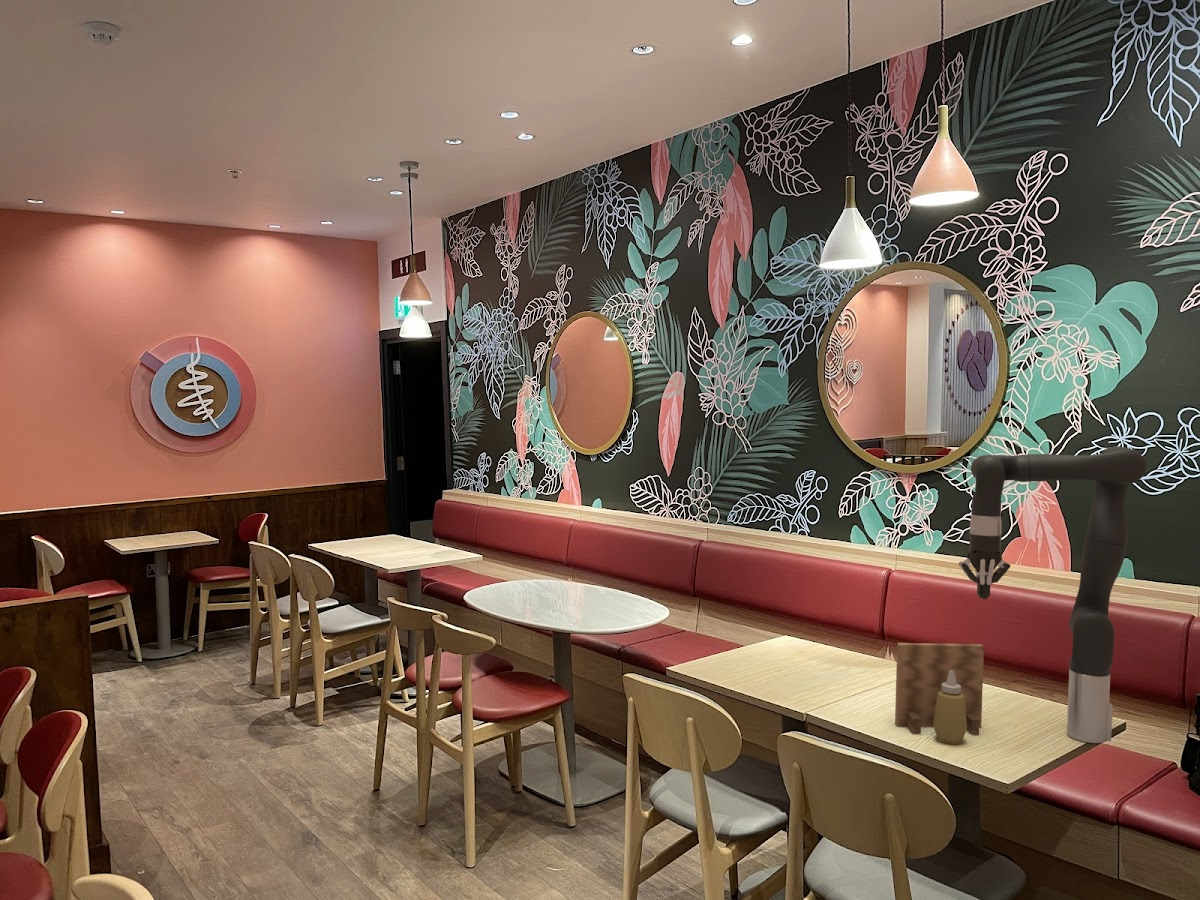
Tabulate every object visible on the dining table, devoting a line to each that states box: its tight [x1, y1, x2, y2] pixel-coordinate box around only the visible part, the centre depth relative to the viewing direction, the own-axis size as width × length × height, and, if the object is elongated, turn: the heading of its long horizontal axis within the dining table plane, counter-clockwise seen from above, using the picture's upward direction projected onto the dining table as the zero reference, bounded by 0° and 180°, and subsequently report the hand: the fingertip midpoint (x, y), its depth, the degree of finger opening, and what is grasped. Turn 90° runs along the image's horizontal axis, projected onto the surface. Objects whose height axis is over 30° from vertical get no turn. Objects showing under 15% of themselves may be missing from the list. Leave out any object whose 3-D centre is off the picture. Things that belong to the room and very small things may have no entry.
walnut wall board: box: [894, 642, 985, 736], centre depth 233 cm, size 22×7×22 cm, turn 88°
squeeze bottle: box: [933, 670, 967, 745], centre depth 226 cm, size 8×8×18 cm
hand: (983, 598), depth 232 cm, fingers closed
